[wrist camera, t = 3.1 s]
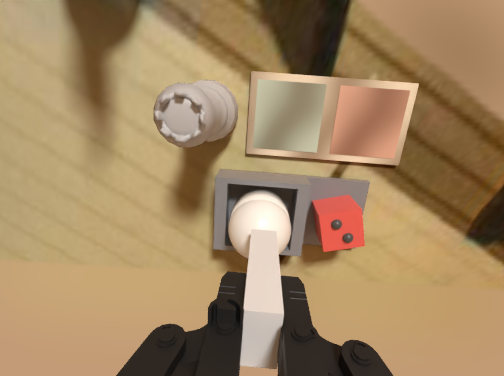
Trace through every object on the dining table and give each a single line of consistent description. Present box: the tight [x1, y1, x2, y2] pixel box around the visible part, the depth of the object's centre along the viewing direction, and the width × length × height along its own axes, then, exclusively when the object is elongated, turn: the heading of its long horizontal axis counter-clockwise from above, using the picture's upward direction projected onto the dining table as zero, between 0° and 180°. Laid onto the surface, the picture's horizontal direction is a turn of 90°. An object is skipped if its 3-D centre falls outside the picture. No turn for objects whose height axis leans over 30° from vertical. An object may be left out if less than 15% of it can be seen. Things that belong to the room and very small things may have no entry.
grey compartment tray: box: [213, 169, 370, 256], centre depth 21 cm, size 12×6×4 cm, turn 86°
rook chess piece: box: [154, 80, 238, 148], centre depth 17 cm, size 4×4×8 cm
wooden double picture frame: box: [246, 71, 419, 165], centre depth 20 cm, size 12×6×1 cm, turn 86°
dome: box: [228, 189, 291, 259], centre depth 19 cm, size 4×4×4 cm
